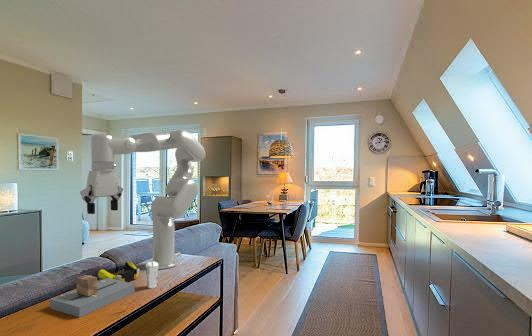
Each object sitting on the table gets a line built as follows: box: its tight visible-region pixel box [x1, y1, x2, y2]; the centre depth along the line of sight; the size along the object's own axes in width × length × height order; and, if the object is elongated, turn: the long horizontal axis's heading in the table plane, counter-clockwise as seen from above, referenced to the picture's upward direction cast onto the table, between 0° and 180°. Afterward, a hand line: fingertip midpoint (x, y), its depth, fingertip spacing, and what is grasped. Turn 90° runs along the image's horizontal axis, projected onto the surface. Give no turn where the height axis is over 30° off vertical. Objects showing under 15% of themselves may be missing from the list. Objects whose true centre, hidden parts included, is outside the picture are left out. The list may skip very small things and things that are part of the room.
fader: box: [76, 274, 98, 296], centre depth 95 cm, size 3×6×5 cm, turn 66°
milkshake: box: [145, 260, 159, 289], centre depth 108 cm, size 4×5×10 cm
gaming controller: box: [97, 260, 140, 283], centre depth 116 cm, size 15×6×10 cm
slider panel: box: [49, 278, 136, 319], centre depth 97 cm, size 20×14×3 cm
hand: (103, 211), depth 111 cm, fingers open, 9 cm apart
